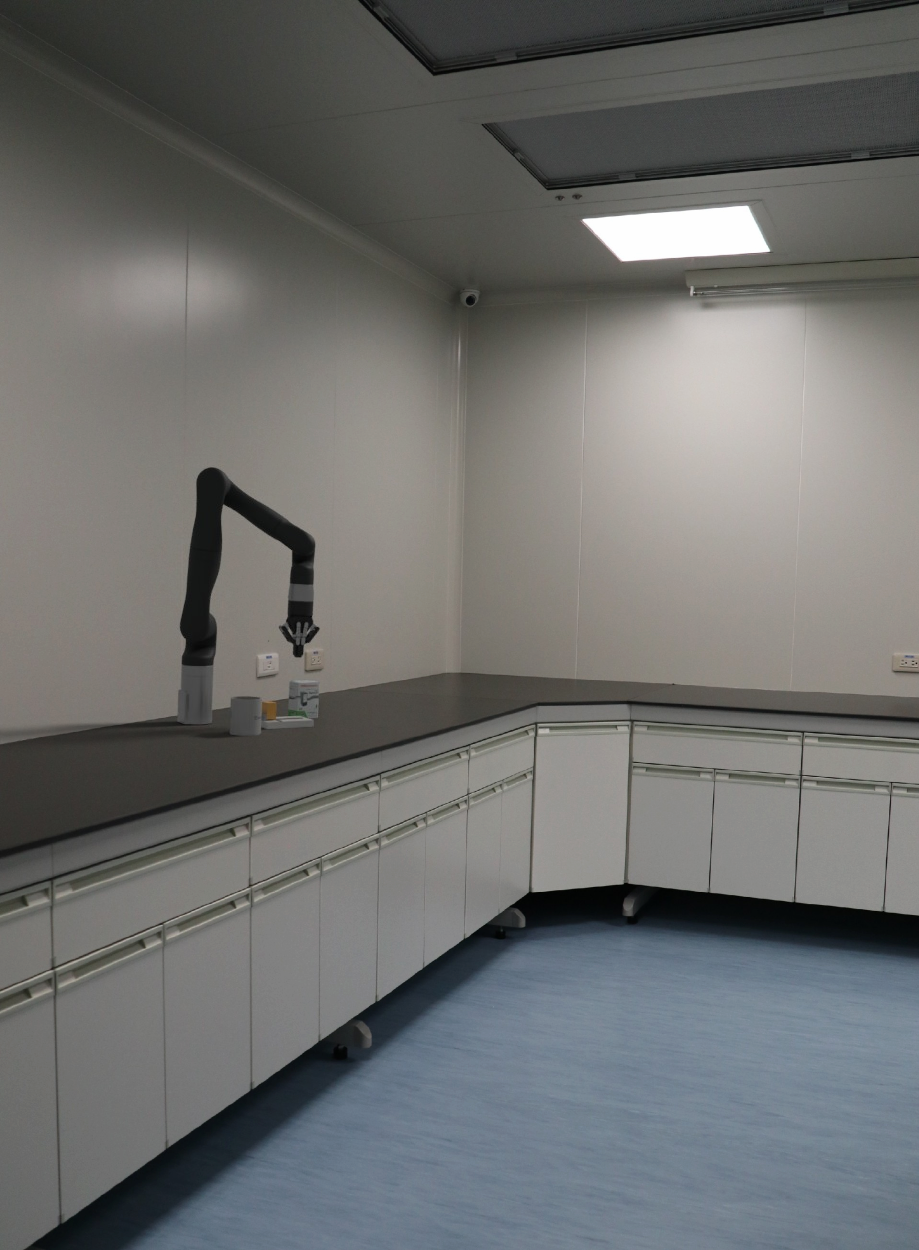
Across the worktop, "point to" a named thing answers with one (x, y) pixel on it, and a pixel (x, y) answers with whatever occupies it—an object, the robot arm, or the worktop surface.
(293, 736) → the worktop surface
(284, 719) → the console
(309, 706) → the ink box
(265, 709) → the orange block
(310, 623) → the robot arm
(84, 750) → the worktop surface
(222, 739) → the worktop surface
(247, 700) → the mug
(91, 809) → the worktop surface
